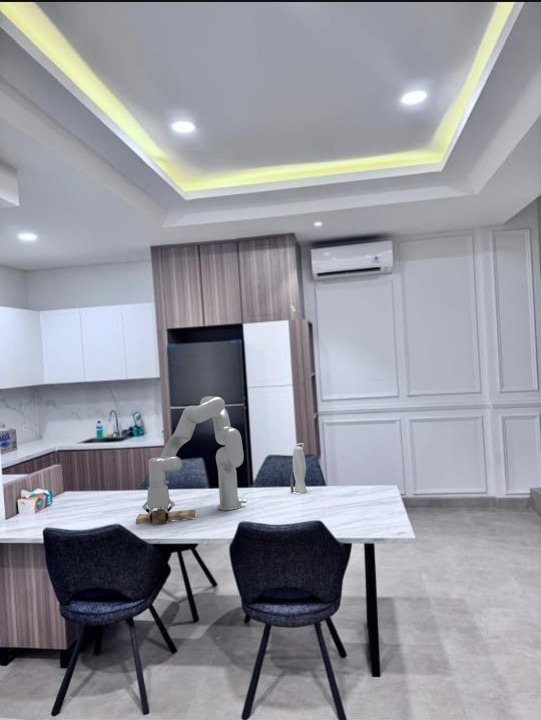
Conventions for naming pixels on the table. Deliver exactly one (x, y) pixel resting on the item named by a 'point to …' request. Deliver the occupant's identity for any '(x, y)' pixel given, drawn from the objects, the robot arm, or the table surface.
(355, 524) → the table surface
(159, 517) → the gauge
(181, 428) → the robot arm
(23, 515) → the table surface
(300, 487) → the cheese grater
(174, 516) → the board
